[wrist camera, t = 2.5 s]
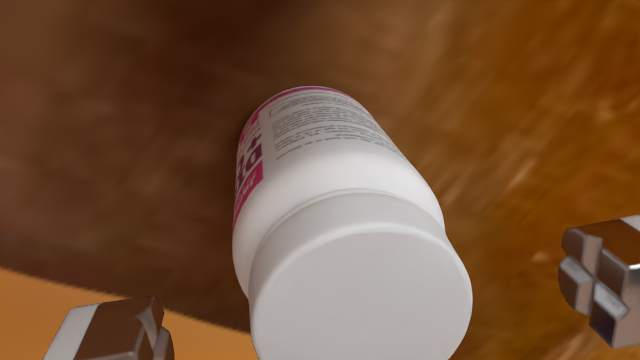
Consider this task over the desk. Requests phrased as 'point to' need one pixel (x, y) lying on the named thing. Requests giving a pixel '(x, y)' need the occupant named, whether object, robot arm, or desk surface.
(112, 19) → the desk surface
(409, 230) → the pill bottle
